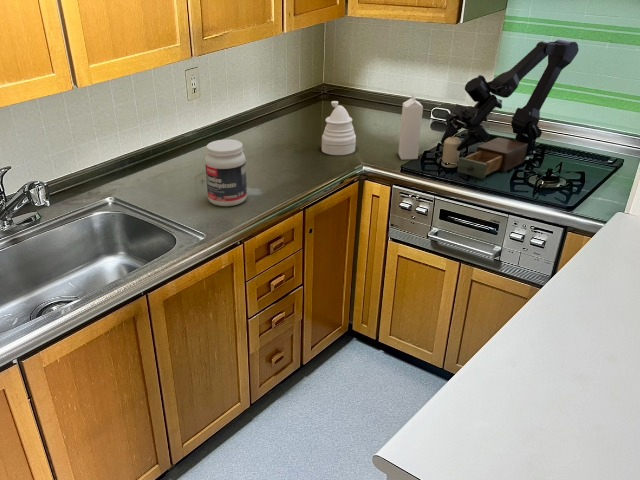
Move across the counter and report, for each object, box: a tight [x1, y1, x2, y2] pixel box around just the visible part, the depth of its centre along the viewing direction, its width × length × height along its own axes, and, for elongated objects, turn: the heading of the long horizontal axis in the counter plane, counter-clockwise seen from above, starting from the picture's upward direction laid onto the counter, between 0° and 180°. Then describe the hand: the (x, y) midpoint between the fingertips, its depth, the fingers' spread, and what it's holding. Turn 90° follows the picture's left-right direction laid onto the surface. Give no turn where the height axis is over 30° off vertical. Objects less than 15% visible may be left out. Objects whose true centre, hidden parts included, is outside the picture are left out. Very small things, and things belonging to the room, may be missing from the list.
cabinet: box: [476, 136, 528, 173], centre depth 218 cm, size 14×11×7 cm
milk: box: [398, 93, 424, 161], centre depth 224 cm, size 6×6×22 cm
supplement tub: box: [204, 138, 248, 207], centre depth 199 cm, size 13×13×18 cm
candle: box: [441, 136, 462, 169], centre depth 218 cm, size 6×6×10 cm
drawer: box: [456, 150, 504, 179], centre depth 211 cm, size 14×10×5 cm
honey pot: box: [321, 100, 357, 156], centre depth 236 cm, size 13×13×18 cm
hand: (449, 146), depth 217 cm, fingers open, 9 cm apart
